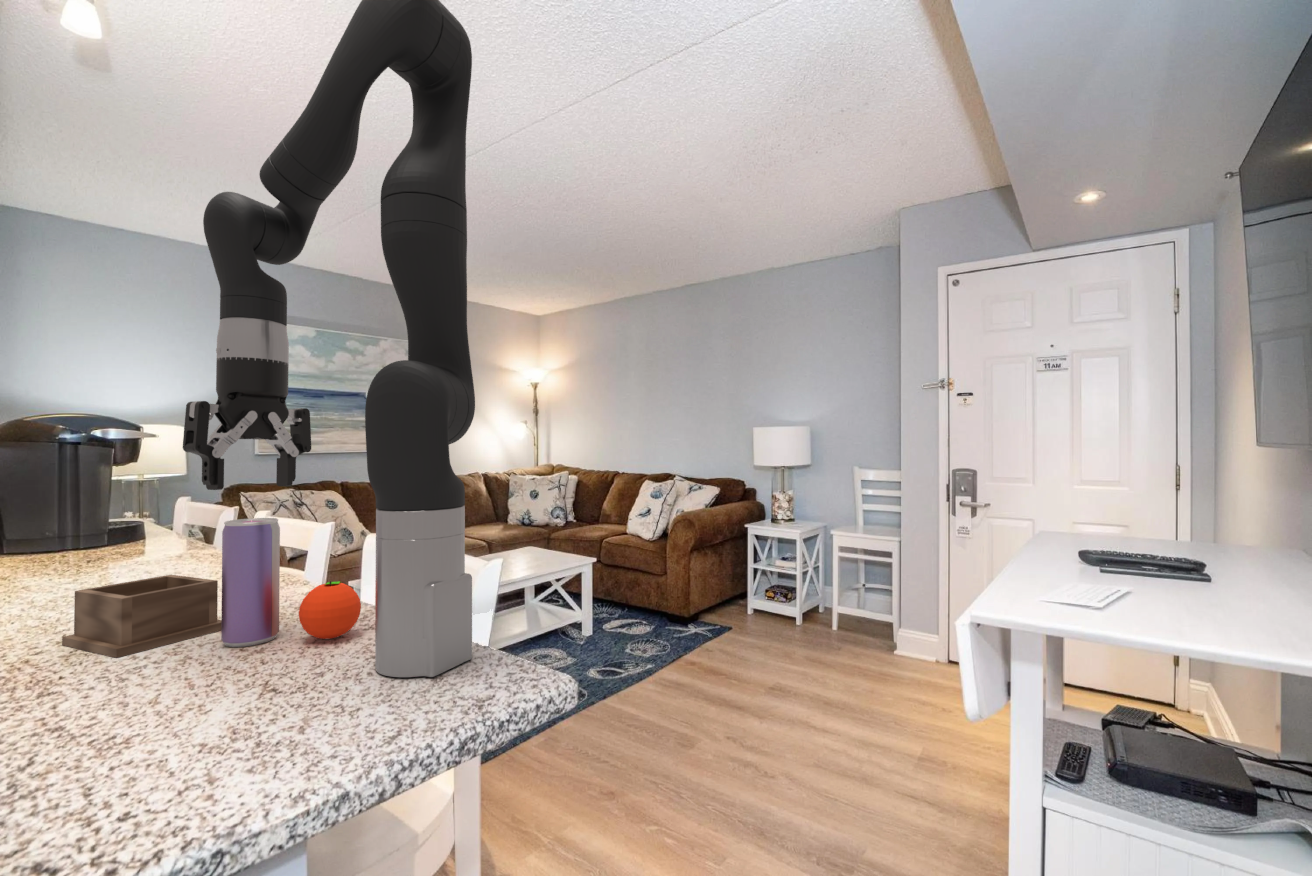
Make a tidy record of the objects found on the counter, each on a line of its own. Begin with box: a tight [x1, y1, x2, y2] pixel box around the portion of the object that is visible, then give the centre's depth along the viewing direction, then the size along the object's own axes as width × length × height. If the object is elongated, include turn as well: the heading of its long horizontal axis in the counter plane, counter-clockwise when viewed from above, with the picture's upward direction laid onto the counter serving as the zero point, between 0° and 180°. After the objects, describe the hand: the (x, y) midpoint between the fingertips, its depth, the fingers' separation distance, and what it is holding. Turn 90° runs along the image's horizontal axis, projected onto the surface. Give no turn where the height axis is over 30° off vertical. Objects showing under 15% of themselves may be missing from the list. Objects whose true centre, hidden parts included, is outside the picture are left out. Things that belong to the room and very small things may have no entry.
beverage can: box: [220, 517, 281, 648], centre depth 74 cm, size 6×6×15 cm
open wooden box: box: [61, 574, 222, 659], centre depth 76 cm, size 12×12×6 cm
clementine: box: [298, 580, 362, 640], centre depth 75 cm, size 8×7×7 cm
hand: (251, 487), depth 74 cm, fingers open, 8 cm apart
